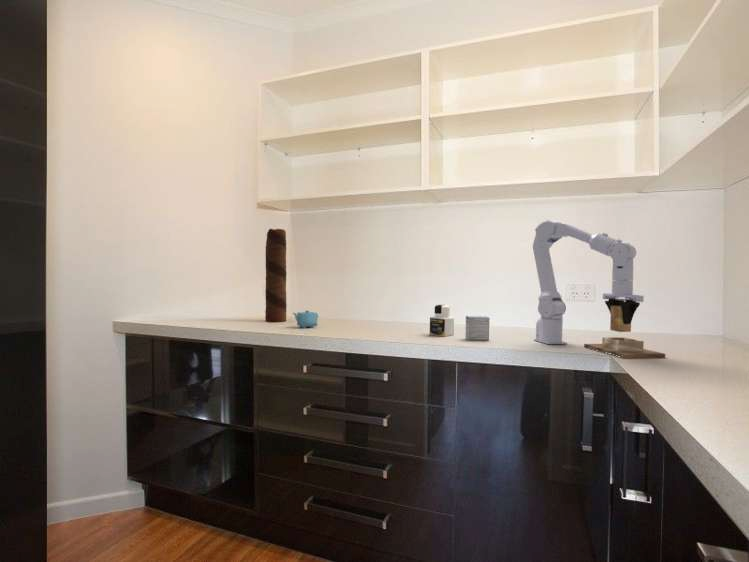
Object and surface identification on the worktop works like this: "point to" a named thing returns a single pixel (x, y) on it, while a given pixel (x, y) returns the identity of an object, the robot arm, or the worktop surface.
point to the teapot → (306, 319)
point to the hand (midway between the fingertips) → (621, 323)
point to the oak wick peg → (618, 320)
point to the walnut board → (624, 348)
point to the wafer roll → (276, 276)
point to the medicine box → (477, 328)
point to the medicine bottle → (442, 322)
